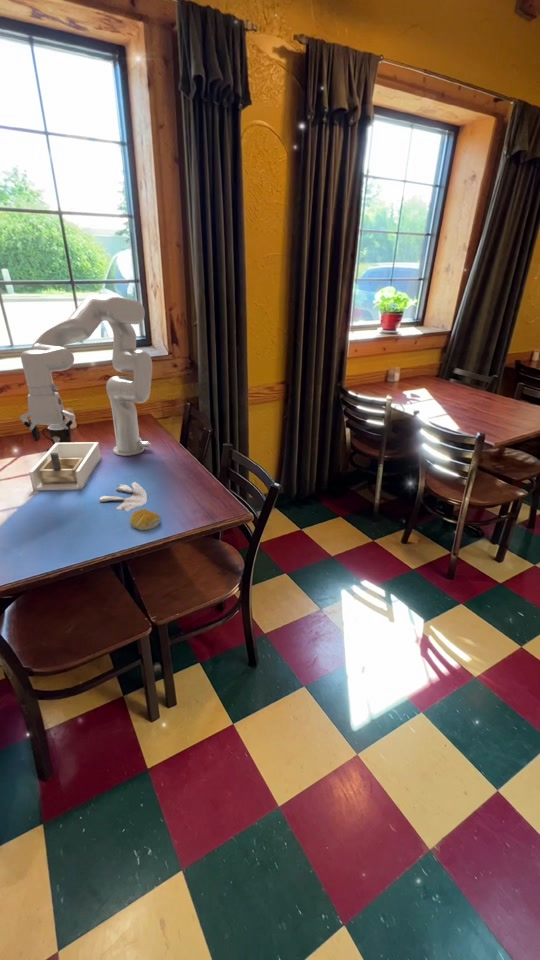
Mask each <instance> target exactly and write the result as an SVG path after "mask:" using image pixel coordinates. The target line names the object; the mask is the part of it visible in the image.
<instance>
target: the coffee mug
mask: <svg viewBox="0 0 540 960" xmlns="http://www.w3.org/2000/svg"><path fill="white" fill-rule="evenodd" d="M47 426H48V427H47V428H46V427H44V428H43V429H42V430H41V432H42V433H41V434H42V435H43V436H44V437H45V438H46V439H47V440H49V441H50V442H52V446H53V445H54V444H55V443H72V436H71V437H70V438H69V439H68V440H67V441H66V440H65V438H64V433H63V429H64V428H63V427H62V426H61V425H60V424H52V425H47ZM69 429H70V434H71V435H72V433H71V432H72V431H71V426H70V427H69ZM45 430H47V431H48V434H49V436H50V437H49V436H47V435H46V434H45Z"/></svg>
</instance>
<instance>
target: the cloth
mask: <svg viewBox="0 0 540 960" xmlns="http://www.w3.org/2000/svg"><path fill="white" fill-rule="evenodd" d="M131 486H132V488H131V487H130V486H129V485H127V484H122V483H121V484H120V485H119V486H117V487H116V491H119V492H121V493H127V494H129V495H131V496H129V497H125V498H124V497H121V496H113V495H102V496H100V497H99V503H105V502H107V503H108V502H119V503H120V502H121V504H119V505H118V506H116V507H115V508H116V510H118V511H119V510H120V511H122V510H125V512H129V511H132V510H135V509H138V508H140V507H142V506H144V505H146V504H147V501H148V498H147V497H148V495H147V492H146V490H145V489H144V488H143V486H141V485H140V484H139V483H137V482H136V481H134V482H132V483H131Z"/></svg>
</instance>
